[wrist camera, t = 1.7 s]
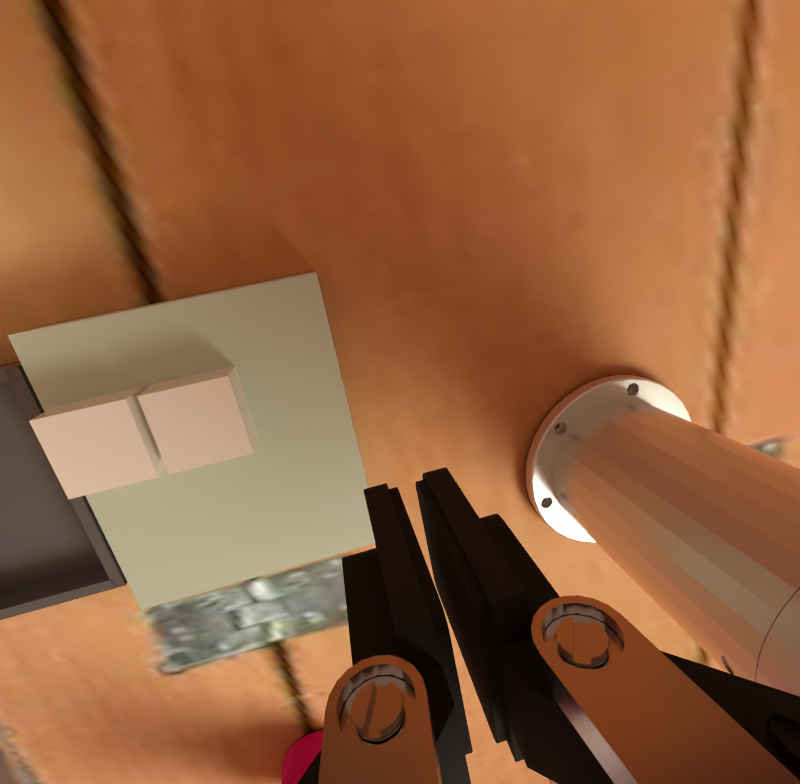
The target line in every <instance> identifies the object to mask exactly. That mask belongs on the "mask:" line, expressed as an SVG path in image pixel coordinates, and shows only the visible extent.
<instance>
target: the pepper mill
mask: <svg viewBox="0 0 800 784" xmlns="http://www.w3.org/2000/svg"><path fill="white" fill-rule="evenodd" d="M322 739H323V730H319V731H316V732H312V733H310V734H307V735H306V736H304V737H303V738H301V739H299V740H298V741H296V742H295V743H294V744H293V745H292V746H291V747H290V748H289V750H288V752H287V753H286V755H285V757H284V760H283V767H282V784H297V783H298V782H299V780H300V779H301V777H302V776H303V774H304V773H305V772H306V770H307V769H308V767H309V766H310V764H311V763H312V761H313V760H314V759H315V757H316V756H317V754H318V753H319V751H320V750H321V748H322Z"/></svg>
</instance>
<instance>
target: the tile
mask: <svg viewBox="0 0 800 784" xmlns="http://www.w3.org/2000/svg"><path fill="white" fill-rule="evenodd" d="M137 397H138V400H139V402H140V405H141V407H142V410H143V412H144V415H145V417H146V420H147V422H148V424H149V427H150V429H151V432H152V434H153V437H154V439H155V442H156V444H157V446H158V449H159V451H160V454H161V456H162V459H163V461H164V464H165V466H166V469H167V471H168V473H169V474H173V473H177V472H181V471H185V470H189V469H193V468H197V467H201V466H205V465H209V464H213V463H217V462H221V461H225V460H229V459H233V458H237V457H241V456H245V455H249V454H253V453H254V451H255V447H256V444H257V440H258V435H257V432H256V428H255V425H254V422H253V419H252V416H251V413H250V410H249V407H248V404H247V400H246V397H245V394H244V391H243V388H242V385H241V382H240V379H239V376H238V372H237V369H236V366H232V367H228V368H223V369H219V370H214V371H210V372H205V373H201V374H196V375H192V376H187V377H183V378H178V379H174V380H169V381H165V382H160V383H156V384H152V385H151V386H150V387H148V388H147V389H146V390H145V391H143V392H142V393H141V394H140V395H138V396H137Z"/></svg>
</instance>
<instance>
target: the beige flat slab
mask: <svg viewBox="0 0 800 784" xmlns="http://www.w3.org/2000/svg"><path fill="white" fill-rule="evenodd" d="M7 336H8V338H9V340H10V342H11V344H12V346H13V348H14V350H15V352H16V354H17V356H18V358H19V361H20V363H21V365H22V367H23V369H24V371H25V373H26V375H27V377H28V379H29V381H30V383H31V385H32V387H33V389H34V391H35V393H36V395H37V397H38V399H39V402H40V404H41V406H42V408H43V410H44V412H45V411H47V410H49V409H51V408H52V407H54V406H58V405H62V404H67V403H71V402H76V401H80V400H84V399H89V398H93V397H98V396H102V395H107V394H111V393H116V392H120V391H125V390H129V389H134V388H138V387H142V388H143V391H145V390H146V389H147V388H148V387H150V386H151V385H152V384H156V383H160V382H165V381H169V380H174V379H178V378H183V377H187V376H192V375H196V374H201V373H205V372H210V371H214V370H219V369H223V368H228V367H232V366H236V369H237V372H238V376H239V379H240V382H241V385H242V388H243V391H244V394H245V397H246V400H247V404H248V407H249V410H250V413H251V416H252V419H253V422H254V425H255V428H256V432H257V435H258V440H257V444H256V447H255V451H254V453H253V454H249V455H245V456H241V457H237V458H233V459H229V460H225V461H221V462H217V463H213V464H209V465H205V466H201V467H197V468H193V469H189V470H185V471H181V472H177V473H173V474H169V473H168V471H167V469H166V467H165V468H164V469H163V471H162V472H161V474H160V475H159V477H157V478H153V479H149V480H145V481H141V482H137V483H133V484H129V485H125V486H121V487H117V488H113V489H109V490H105V491H101V492H97V493H93V494H89V495H85V496H86V498H87V500H88V502H89V504H90V506H91V508H92V510H93V512H94V514H95V516H96V518H97V520H98V523H99V525H100V527H101V529H102V531H103V533H104V535H105V537H106V539H107V541H108V543H109V545H110V547H111V549H112V551H113V553H114V555H115V557H116V559H117V561H118V564H119V566H120V568H121V570H122V572H123V574H124V576H125V578H126V580H127V582H128V584H129V586H130V588H131V590H132V592H133V594H134V596H135V598H136V600H137V603H138V605H139V607H140V609H141V610H143V609H146V608H150V607H153V606H157V605H160V604H164V603H167V602H171V601H174V600H178V599H181V598H185V597H188V596H192V595H195V594H199V593H202V592H206V591H209V590H213V589H216V588H220V587H223V586H227V585H230V584H234V583H237V582H241V581H244V580H248V579H251V578H255V577H259V576H262V575H266V574H269V573H273V572H276V571H280V570H283V569H287V568H290V567H294V566H297V565H301V564H304V563H308V562H311V561H315V560H318V559H322V558H325V557H329V556H332V555H336V554H339V553H343V552H346V551H350V550H353V549H357V548H360V547H364V546H367V545H371V544H374V543H375V539H374V535H373V530H372V526H371V522H370V517H369V513H368V508H367V504H366V500H365V495H364V491H363V489H367V488H368V484H367V480H366V476H365V472H364V468H363V464H362V459H361V455H360V451H359V447H358V443H357V439H356V435H355V430H354V426H353V422H352V418H351V414H350V410H349V406H348V401H347V397H346V393H345V389H344V385H343V381H342V376H341V372H340V368H339V364H338V360H337V356H336V352H335V347H334V343H333V339H332V335H331V331H330V327H329V323H328V318H327V314H326V310H325V306H324V302H323V298H322V293H321V289H320V285H319V281H318V277H317V273H316V271H314V272H309V273H304V274H299V275H294V276H289V277H284V278H279V279H274V280H269V281H264V282H259V283H254V284H249V285H244V286H239V287H234V288H229V289H224V290H219V291H214V292H209V293H205V294H200V295H195V296H190V297H185V298H180V299H175V300H170V301H165V302H160V303H155V304H150V305H145V306H140V307H135V308H130V309H125V310H120V311H115V312H110V313H105V314H100V315H95V316H90V317H85V318H80V319H75V320H70V321H66V322H61V323H56V324H51V325H46V326H42V327H38V328H34V329H30V330H26V331H22V332H18V333H14V334H10V335H7Z"/></svg>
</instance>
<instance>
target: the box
mask: <svg viewBox="0 0 800 784" xmlns="http://www.w3.org/2000/svg"><path fill="white" fill-rule="evenodd" d="M42 413H44V410H43V408H42V406H41V404H40V402H39V399H38V397H37V395H36V393H35V391H34V389H33V387H32V385H31V383H30V381H29V379H28V377H27V375H26V373H25V371H24V369H23V367H22V365H21V363H20V362H15V363H10V364H6V365H1V366H0V620H2V619H6V618H9V617H13V616H16V615H20V614H24V613H27V612H31V611H34V610H38V609H42V608H45V607H49V606H52V605H56V604H60V603H63V602H67V601H71V600H74V599H78V598H81V597H85V596H89V595H92V594H96V593H99V592H103V591H107V590H110V589H114V588H117V587H121V586H125V585H126V583H127V580H126V578H125V576H124V574H123V572H122V570H121V568H120V566H119V564H118V561H117V559H116V557H115V555H114V553H113V551H112V549H111V547H110V545H109V543H108V541H107V539H106V537H105V535H104V533H103V531H102V529H101V527H100V525H99V523H98V520H97V518H96V516H95V514H94V512H93V510H92V508H91V506H90V504H89V502H88V500H87V498H86V496H81V497H77V498H73V499H68V497H67V496H66V494H65V492H64V490H63V488H62V486H61V484H60V482H59V480H58V478H57V476H56V474H55V472H54V470H53V468H52V466H51V464H50V462H49V460H48V458H47V456H46V454H45V452H44V450H43V448H42V446H41V444H40V442H39V440H38V438H37V436H36V434H35V432H34V430H33V428H32V426H31V424H30V422H29V421H30V420H31V419H33V418H35V417H37V416H38V415H40V414H42Z"/></svg>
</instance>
